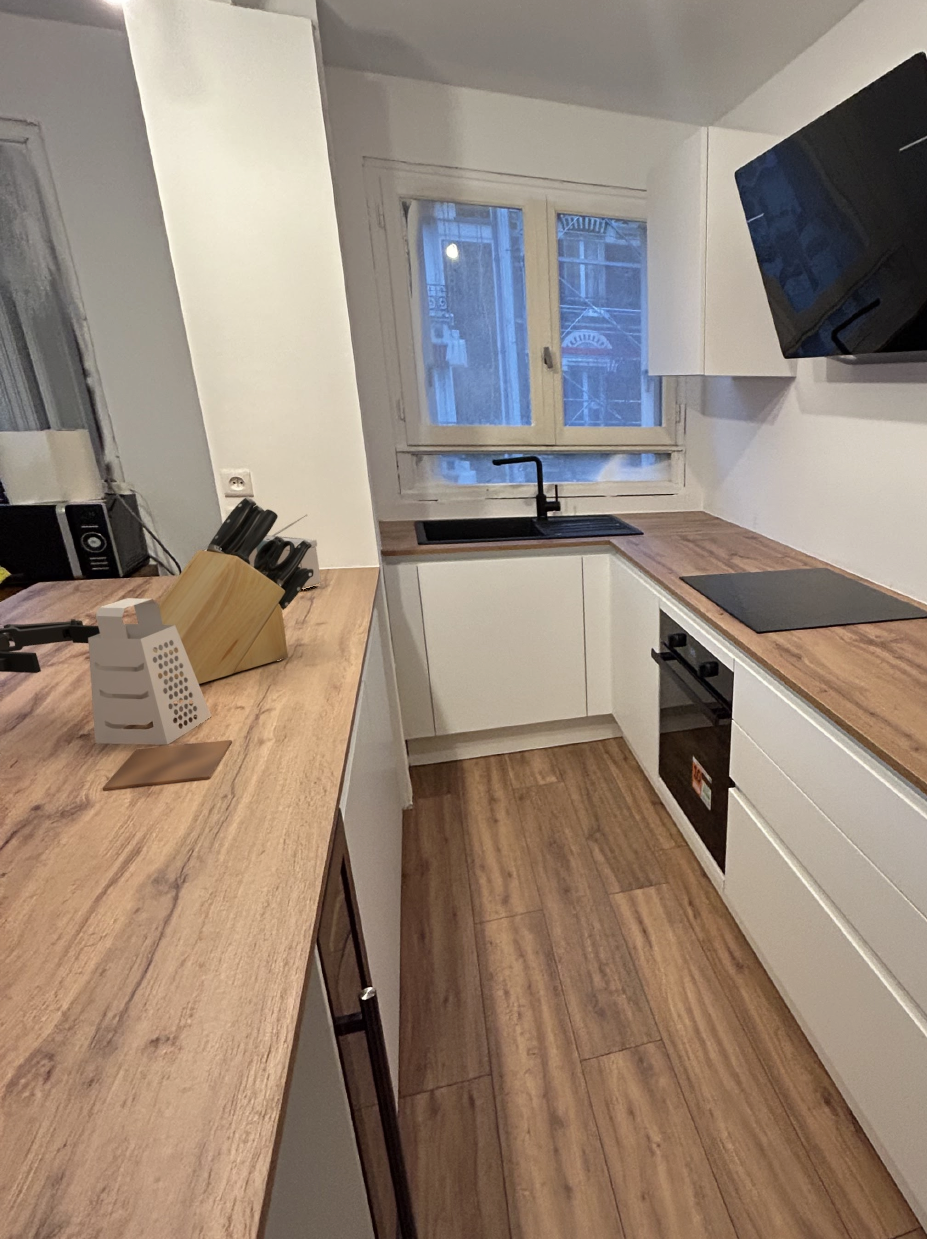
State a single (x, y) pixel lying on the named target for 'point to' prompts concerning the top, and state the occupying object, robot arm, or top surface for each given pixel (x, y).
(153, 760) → the cork trivet
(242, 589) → the knife block
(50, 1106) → the top surface
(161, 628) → the grater
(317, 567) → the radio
